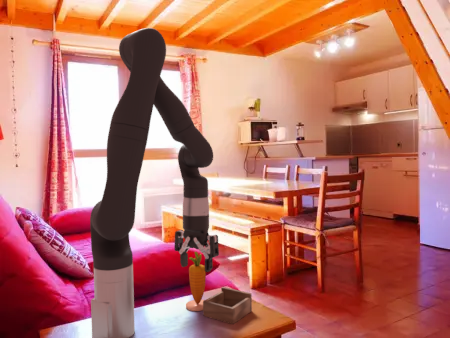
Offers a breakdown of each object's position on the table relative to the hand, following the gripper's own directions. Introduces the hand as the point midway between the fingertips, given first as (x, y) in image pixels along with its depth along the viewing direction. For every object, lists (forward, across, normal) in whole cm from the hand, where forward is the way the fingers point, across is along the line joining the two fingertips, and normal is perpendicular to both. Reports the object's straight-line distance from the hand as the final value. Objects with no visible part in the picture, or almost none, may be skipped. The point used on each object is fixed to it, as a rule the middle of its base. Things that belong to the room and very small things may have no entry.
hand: (196, 268), depth 108 cm
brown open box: (+11, +10, +1) cm, 15 cm away
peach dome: (+11, 0, 0) cm, 11 cm away
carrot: (+10, 0, 0) cm, 11 cm away
